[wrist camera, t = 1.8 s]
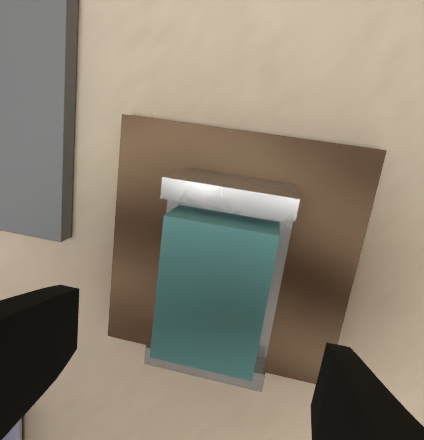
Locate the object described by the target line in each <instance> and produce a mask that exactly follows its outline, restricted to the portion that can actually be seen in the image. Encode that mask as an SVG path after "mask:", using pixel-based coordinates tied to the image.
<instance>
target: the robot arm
mask: <svg viewBox="0 0 424 440" xmlns="http://www.w3.org/2000/svg"><path fill="white" fill-rule="evenodd" d="M78 308H79V289H78V288H73V287H68V286H64V285H57V286H51V287H47V288H43V289H39V290H35V291H32V292H28V293H25V294H21V295H18V296H14V297H11V298H7V299H4V300H0V440H22V417H23V416H24V415H25V414H26V412H27V411H28V410H29V409H30V408H31V407H32V406H33V405H34V404H35V402H36V401H37V400H38V399H39V398H40V397H41V396H42V395H43V393H44V392H45V391H46V390H47V389H48V388H49V387H50V386H51V384H52V383H53V382H54V381H55V380H56V379H57V377H58V376H59V374H60V373H61V372H62V370H63V369H64V367H65V366H66V365H67V363H68V361H69V360H70V358H71V357H72V355H73V354H74V352H75V351H76V349H77V334H78ZM311 427H312V440H424V427H423V426H422V425H421V424H420V423H419V422H418V421H417V420H416V419H415V418H414V417H413V416H412V415H411V414H410V413H409V412H408V411H407V410H406V409H405V407H404V406H403V405H402V404H401V403H400V402H399V401H398V400H397V399H396V398H395V397H394V396H393V395H392V393H391V392H390V391H389V390H388V389H387V388H386V387H385V386H384V385H383V384H382V382H381V381H380V380H379V379H378V378H377V377H376V376H375V374H374V373H373V372H372V371H371V370H370V369H369V368H368V367H367V365H366V364H365V363H364V362H363V361H362V360H361V359H360V357H359V356H358V355H357V354H356V353H355V352H354V351H353V350H352V349H351V348H350V347H346V346H341V345H337V344H332V343H327V342H326V346H325V350H324V354H323V358H322V363H321V367H320V371H319V375H318V379H317V383H316V387H315V391H314V395H313V399H312V403H311Z"/></svg>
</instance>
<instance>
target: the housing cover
mask: <svg viewBox="0 0 424 440" xmlns="http://www.w3.org/2000/svg"><path fill="white" fill-rule="evenodd" d="M279 237H280V222H278V221H272V220H266V219H260V218H254V217H248V216H243V215H237V214H231V213H225V212H219V211H213V210H208V209H202V208H196V207H190V206H184V205H178V206H177V207H175V208H174V209H172V210H171V211H170V212H168V213H167V214H165V215H164V218H163V228H162V238H161V248H160V258H159V268H158V278H157V288H156V298H155V308H154V318H153V328H152V338H151V348H150V357H151V358H155V359H159V360H163V361H168V362H172V363H176V364H180V365H184V366H189V367H193V368H197V369H201V370H206V371H210V372H214V373H218V374H222V375H227V376H231V377H235V378H239V379H244V380H248V381H252V379H253V374H254V369H255V364H256V358H257V353H258V348H259V343H260V337H261V332H262V327H263V322H264V316H265V311H266V306H267V301H268V295H269V290H270V285H271V280H272V274H273V269H274V264H275V258H276V253H277V248H278V243H279Z"/></svg>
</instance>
